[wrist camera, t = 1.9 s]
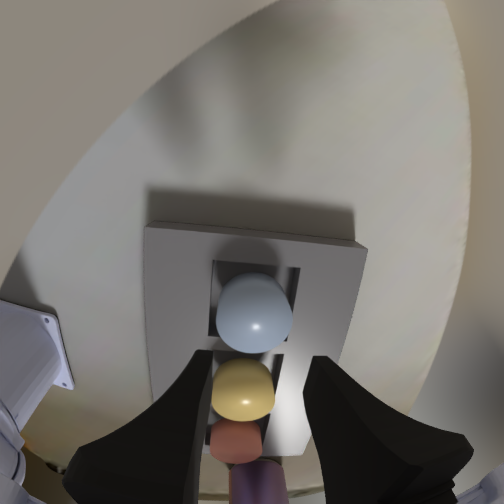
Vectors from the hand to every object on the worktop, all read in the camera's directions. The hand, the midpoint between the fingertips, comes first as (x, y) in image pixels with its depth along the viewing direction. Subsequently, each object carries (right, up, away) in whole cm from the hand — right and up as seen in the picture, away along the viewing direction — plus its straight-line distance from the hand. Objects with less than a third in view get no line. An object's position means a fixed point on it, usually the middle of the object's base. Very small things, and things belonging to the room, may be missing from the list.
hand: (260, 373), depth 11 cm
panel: (-1, -3, +10) cm, 10 cm away
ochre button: (-1, -4, +8) cm, 9 cm away
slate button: (0, +2, +6) cm, 6 cm away
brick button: (-2, -10, +9) cm, 14 cm away
